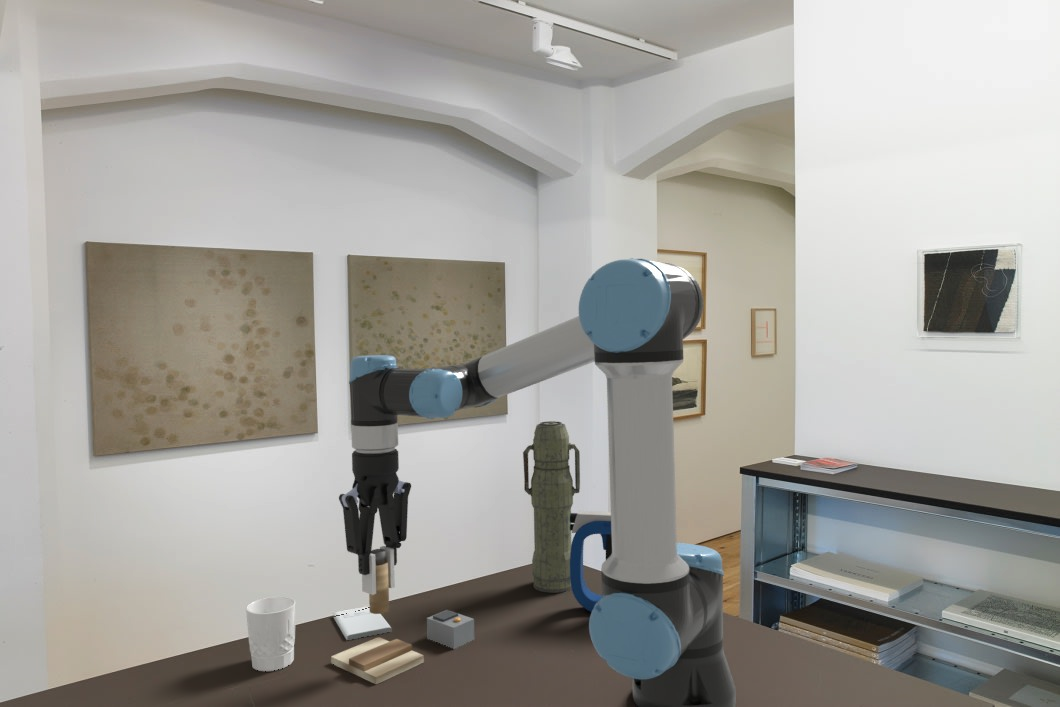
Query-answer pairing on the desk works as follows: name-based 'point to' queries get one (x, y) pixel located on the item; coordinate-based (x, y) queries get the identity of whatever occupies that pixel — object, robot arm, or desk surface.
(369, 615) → the external hard drive
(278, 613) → the white cup
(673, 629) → the robot arm
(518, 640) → the desk surface
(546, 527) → the thermos
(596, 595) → the handheld scanner
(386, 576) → the peg
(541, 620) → the desk surface
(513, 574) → the desk surface
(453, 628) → the box
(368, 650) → the panel
